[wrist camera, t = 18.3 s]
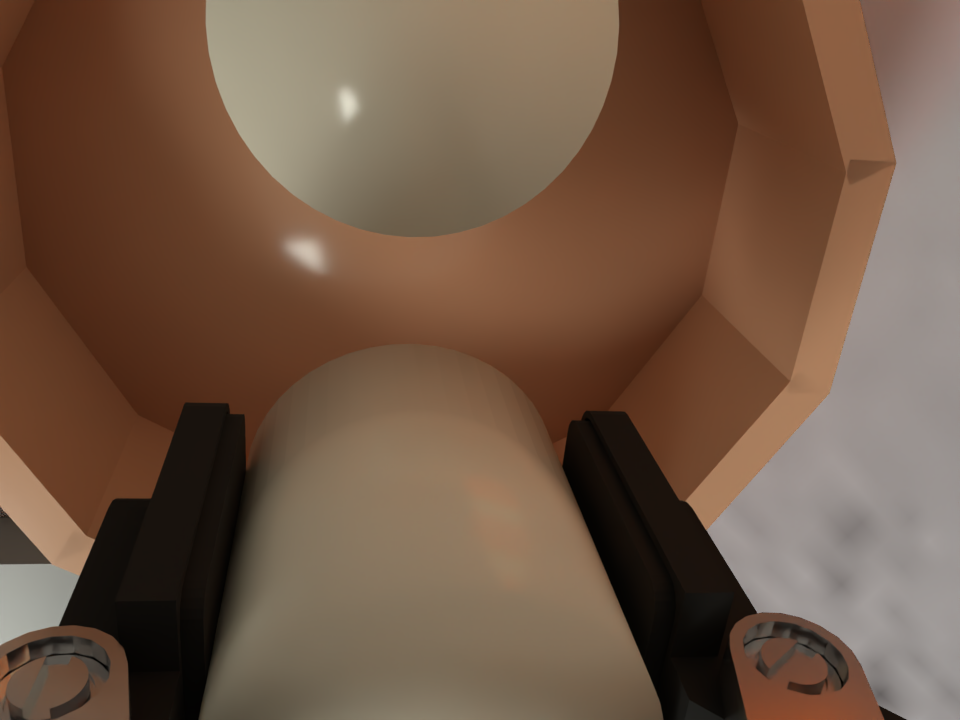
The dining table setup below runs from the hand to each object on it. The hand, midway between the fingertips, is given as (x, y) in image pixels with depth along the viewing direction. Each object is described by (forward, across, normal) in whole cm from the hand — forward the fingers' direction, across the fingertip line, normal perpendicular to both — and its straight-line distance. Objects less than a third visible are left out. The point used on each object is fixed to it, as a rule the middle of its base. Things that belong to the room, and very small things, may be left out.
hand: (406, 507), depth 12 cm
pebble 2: (+1, 0, 0) cm, 1 cm away
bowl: (+6, 0, -3) cm, 6 cm away
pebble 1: (+5, 0, -6) cm, 8 cm away
